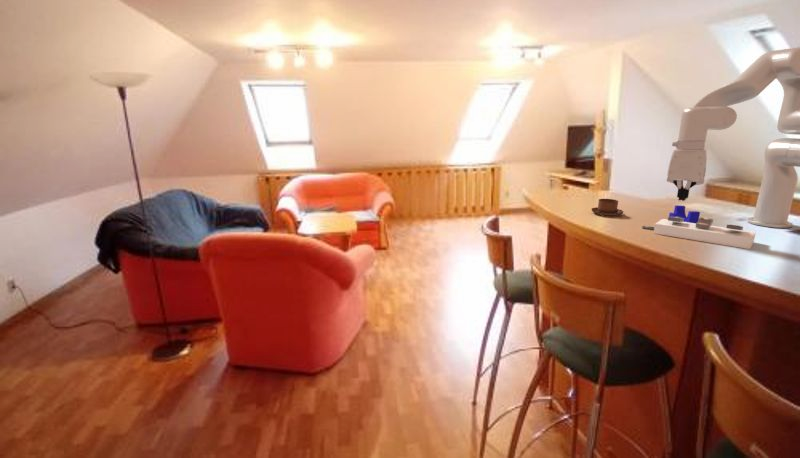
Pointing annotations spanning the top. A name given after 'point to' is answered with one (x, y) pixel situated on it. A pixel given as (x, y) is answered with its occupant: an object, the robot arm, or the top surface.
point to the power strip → (704, 233)
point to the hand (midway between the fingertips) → (682, 199)
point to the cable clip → (680, 212)
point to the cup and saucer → (607, 208)
